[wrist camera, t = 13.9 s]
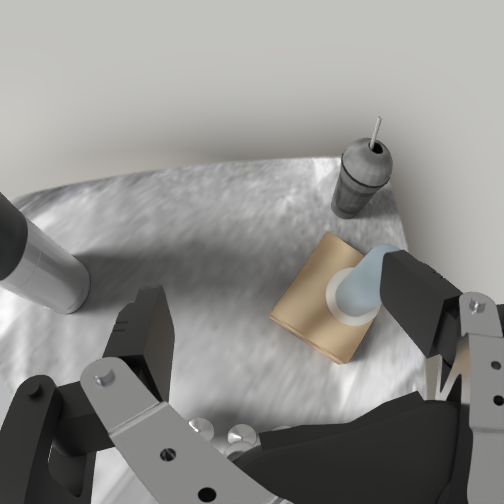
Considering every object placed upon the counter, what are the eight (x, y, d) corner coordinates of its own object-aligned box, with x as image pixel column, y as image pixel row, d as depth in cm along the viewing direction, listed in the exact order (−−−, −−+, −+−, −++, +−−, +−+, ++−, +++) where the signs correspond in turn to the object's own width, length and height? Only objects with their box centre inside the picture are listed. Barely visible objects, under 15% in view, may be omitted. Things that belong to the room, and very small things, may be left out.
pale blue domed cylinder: (327, 300, 39) (355, 272, 29) (349, 269, 41) (380, 234, 31) (359, 325, 38) (396, 305, 28) (379, 293, 40) (418, 265, 30)
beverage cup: (347, 235, 48) (399, 157, 29) (314, 205, 50) (346, 116, 31) (372, 209, 50) (424, 130, 31) (340, 181, 52) (378, 95, 33)
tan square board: (268, 317, 43) (271, 311, 39) (320, 242, 47) (327, 230, 43) (338, 364, 41) (348, 363, 36) (383, 285, 45) (396, 277, 41)
